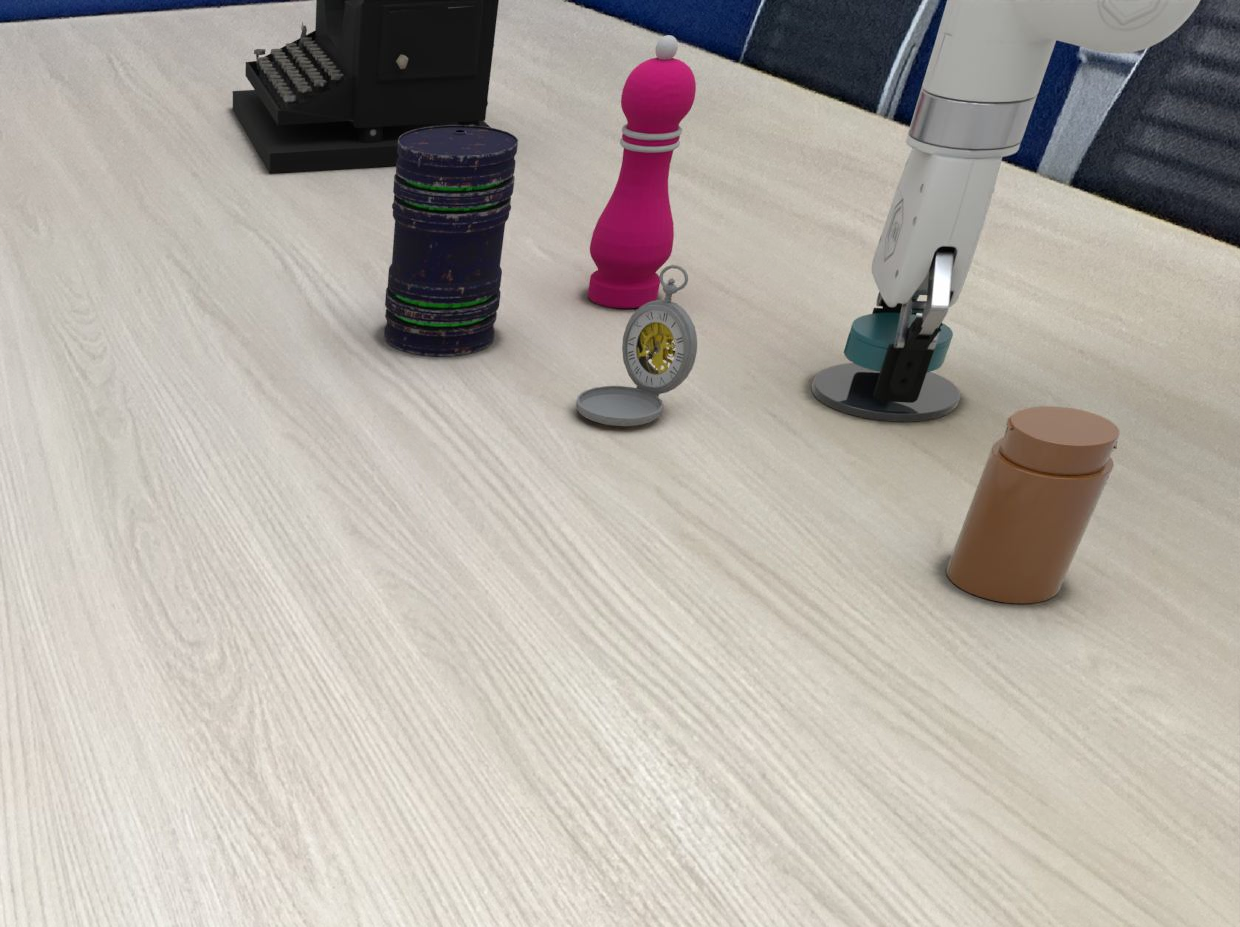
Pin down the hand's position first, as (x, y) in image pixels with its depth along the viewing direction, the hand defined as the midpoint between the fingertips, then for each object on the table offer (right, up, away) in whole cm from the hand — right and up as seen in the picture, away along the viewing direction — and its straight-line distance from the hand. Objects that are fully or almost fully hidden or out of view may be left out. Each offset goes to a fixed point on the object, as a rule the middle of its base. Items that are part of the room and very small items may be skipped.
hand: (886, 379), depth 114 cm
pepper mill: (-15, +16, +18) cm, 29 cm away
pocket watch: (-21, -3, 0) cm, 21 cm away
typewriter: (-34, +60, +62) cm, 93 cm away
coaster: (0, -1, +1) cm, 1 cm away
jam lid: (0, +2, -2) cm, 3 cm away
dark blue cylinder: (-33, +10, +13) cm, 37 cm away
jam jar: (-3, -23, -21) cm, 31 cm away
